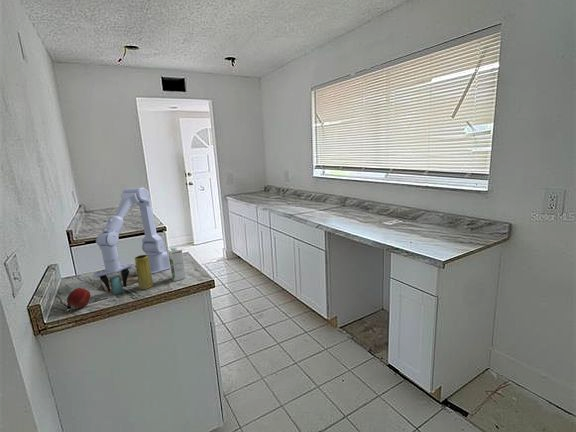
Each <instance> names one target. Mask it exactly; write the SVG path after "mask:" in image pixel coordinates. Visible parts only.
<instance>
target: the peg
mask: <svg viewBox="0 0 576 432" xmlns="http://www.w3.org/2000/svg"><path fill="white" fill-rule="evenodd" d="M120 276H121V275H119V274H117V275H112V276H110V277H109V280H110V283H111V287H112V290H111V291H112V294H113V295H119V294H121V293H123V291H124V289H123V287H122V283H121V278H120Z"/></svg>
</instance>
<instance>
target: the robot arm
mask: <svg viewBox="0 0 576 432" xmlns="http://www.w3.org/2000/svg"><path fill="white" fill-rule="evenodd" d="M120 197H121V200H120V203H119V204H118V207H117V209H116V212H115V213H114V216H111V217H109V218H108V219H107V222H106V225H105V226H104V228H103V229H102V231H101V232H100V233H99V234H98V235H97V236H96V239H95V243H96V245H98V247H99V249H100V251H101V255H102V260H103V264H104V268H105V269H103V270H101V271H98V272H95V273H93V277H94V279H95V280H98V279H100V280H101V282H103V283H104V284H105V286H106V288H107V290H108V291H107V292H108V293H110V292H111V291H112V290H110V287H109V281H108V280H109V278H108V276H109V275H113V274H116V273H119V272H120V276H121V275H122V280H123V286H124V288H127V286H126V283H127V277H128V274H129V273H130V270H132V269H133V265H132V263H128V264H122V265H121V262H120V257H119V252H118V247H117V244H118V243H119V235H120V232H121V229H122V228H123V225H124V223H125V221H124V218H125V215H127V213H128V212H129V210H130V208H131V206H132V205H136V206H138V207H139V212H140V215H141V216H140V217H141V221H142V227H143V232H144V237H143V238H142V240H141V241H142V243H141V244H142V245H141V249H142V251H143V252H144V253H145V255H147V256H148V261H149V266H150V271H151V274H156V273H158V272H163V271H165V270H168V269H170V270H171V268H170V261H169V253H168V252H167V251H166V250H165V249H166V245H165V244H166V243H165V242H164V240H163V239H164V238H163V237H162V236H160V235H159V234H157V229H156V228H157V227H156V222H155V217H154V216H155V215H154V211H153V206H152V200H151V197H150V192H149V190H148V189H147V188H145V187H131V188H130V187H126V188H124V189H123V190H122V193H121V195H120Z"/></svg>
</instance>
